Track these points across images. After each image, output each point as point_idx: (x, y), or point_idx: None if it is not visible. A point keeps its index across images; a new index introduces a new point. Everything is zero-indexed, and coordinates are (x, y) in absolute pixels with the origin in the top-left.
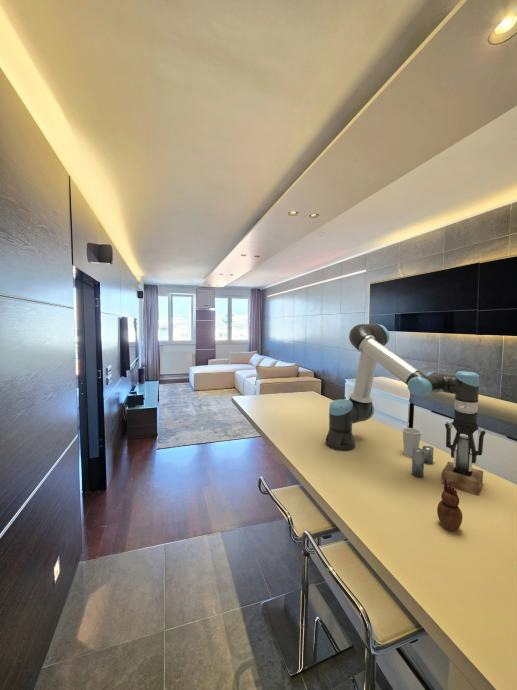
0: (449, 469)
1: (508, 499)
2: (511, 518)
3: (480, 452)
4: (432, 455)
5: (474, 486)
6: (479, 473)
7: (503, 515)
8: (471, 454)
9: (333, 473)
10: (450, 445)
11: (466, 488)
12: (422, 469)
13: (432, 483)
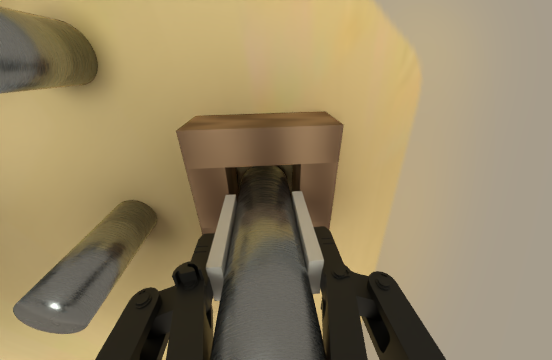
0: (219, 217)
1: (392, 176)
2: (378, 256)
3: (383, 327)
4: (52, 64)
5: None
6: (327, 166)
7: (365, 256)
8: (316, 280)
9: (18, 336)
10: (170, 327)
11: None
12: (141, 243)
13: (197, 233)
